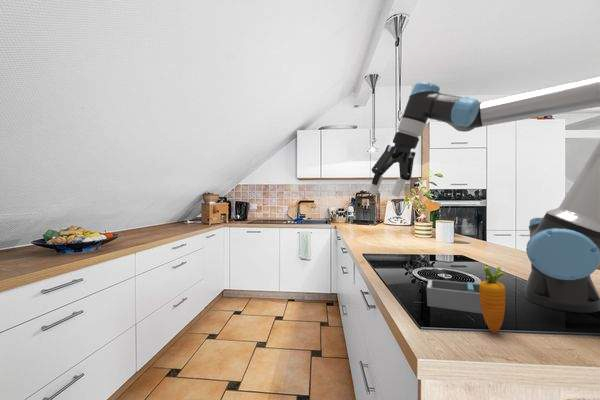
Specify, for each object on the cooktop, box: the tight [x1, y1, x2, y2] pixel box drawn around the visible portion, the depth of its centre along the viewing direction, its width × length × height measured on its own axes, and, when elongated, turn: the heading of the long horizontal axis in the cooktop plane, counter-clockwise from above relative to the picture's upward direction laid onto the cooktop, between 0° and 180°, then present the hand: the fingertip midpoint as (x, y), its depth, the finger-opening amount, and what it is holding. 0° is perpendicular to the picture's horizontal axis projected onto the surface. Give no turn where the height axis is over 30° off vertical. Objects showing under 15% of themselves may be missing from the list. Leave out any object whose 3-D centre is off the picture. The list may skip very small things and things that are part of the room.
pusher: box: [466, 281, 474, 292], centre depth 74 cm, size 1×6×4 cm, turn 151°
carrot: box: [479, 265, 506, 335], centre depth 59 cm, size 5×5×15 cm
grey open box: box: [426, 278, 483, 315], centre depth 75 cm, size 17×9×5 cm, turn 61°
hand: (384, 195), depth 93 cm, fingers open, 13 cm apart
